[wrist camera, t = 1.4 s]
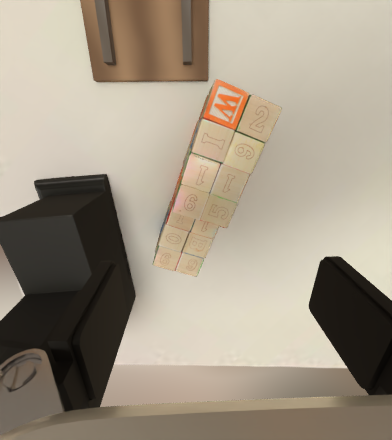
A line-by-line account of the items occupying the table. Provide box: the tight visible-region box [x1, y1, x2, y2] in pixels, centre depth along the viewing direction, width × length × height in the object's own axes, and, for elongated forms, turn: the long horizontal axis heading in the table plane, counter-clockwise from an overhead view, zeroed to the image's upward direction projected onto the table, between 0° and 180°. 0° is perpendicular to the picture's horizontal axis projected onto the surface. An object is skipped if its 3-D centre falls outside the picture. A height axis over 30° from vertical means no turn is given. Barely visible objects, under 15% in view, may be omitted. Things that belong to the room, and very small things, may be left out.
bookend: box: [0, 174, 135, 408], centre depth 26 cm, size 23×11×24 cm, turn 4°
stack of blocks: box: [153, 79, 282, 277], centre depth 27 cm, size 21×6×12 cm, turn 160°
